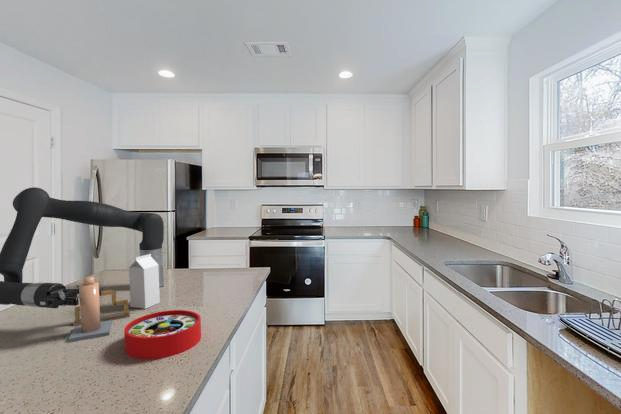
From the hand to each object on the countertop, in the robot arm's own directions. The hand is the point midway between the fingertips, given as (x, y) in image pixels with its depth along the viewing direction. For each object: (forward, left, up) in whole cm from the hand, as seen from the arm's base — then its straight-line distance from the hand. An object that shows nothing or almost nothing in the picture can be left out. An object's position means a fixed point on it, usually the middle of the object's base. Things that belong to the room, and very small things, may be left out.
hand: (89, 297), depth 103 cm
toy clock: (-20, +18, -11) cm, 29 cm away
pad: (0, 0, -11) cm, 11 cm away
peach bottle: (0, 0, -10) cm, 10 cm away
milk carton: (-15, -19, -11) cm, 27 cm away
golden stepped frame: (-2, -10, -11) cm, 15 cm away
